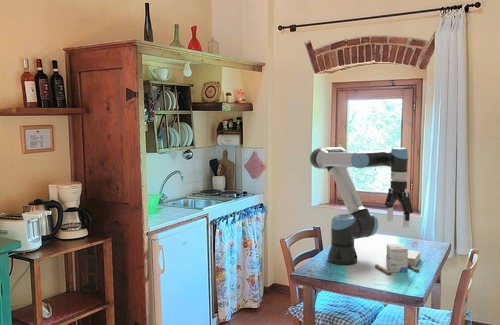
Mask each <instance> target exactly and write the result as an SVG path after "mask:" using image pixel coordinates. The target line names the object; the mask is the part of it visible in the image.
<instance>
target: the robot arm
mask: <svg viewBox="0 0 500 325" xmlns="http://www.w3.org/2000/svg"><path fill="white" fill-rule="evenodd" d="M309 162H310V165H312V166H313V167H314V168H316V169H323V170H325V169H326V170H327V172H328V174H329V175H332V177H333V179H334V182H335V184H336V186H337V189H338V191H339V193H340V196H341V198H342V200H343V203H344V205H345V208H346V210H347V213H344V214H342V213H341V214H336V215H334V217H333V218H331V224H330V230H331V231H330V234H331V235H330V239H331V241H330V243H331V244H330V245H331V246H330V248H329V251H328V254H327V262H329V263H331V264H333V265H339V266H340V265H342V266H350V265H354V264H357V263H358V255H357V251H356V248H355V240H358V239H361V238H369V237H372V236H374V235H375V234H376V233H377V232H378V229H379V221H378V218H377V216H376V215H375V214H374V213H370V211H369V209H368V208H367V207H364V205H363V202H362V200H361V198H360V196H359V193H358V191H357V189H356V187H355V184H354V182H353V180H352V178H351V176H350V174H349V171H348V168H355V169H366V168H370V167H371V168H375V167H387V168H388V167H389V168H390V187H389V188H388V192H387V195H386V198H385V202H384V206H386V208H387V211H386V212H387V214H386V215H387V217H386V219H387V222H393V220H394V205H395V203H396V201H398V202H399V203H400V205H401V207H402V210H403V214H402V228H404V229H405V228H410V215H411V214H413V213H414V212H413V207H412V203H411V199H410V198H411V197H410V192H408V191H407V192H406V189H407V188H408V162H409V151H408V148H406V147H393V148H391V151H389V150H383V149H381V150H379V149H377V150H374V151H347V150H346V149H345V148H344V147H341V146H332V147H320V148H316V149H314V150H313V151H312V152H311V153H310V156H309Z"/></svg>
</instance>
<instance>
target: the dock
mask: <svg viewBox="0 0 500 325" xmlns="http://www.w3.org/2000/svg"><path fill="white" fill-rule="evenodd" d="M385 255H386V256H385V261H386V262H387V254H385ZM420 260H421V251H420V250H419V251H418V250H412V249H411V250H410V249H408V264H410V265H412V266H414V267H416V266H417V264H418V263H419V261H420Z"/></svg>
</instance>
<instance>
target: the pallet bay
mask: <svg viewBox="0 0 500 325" xmlns="http://www.w3.org/2000/svg"><path fill="white" fill-rule="evenodd" d="M374 267H375V268H376V269H377V270H379V271H380V272H382V273H384V274H386V275H387V276H391V275H392V272H390V271H389V270H388V269H386V268H384V267H383V266H381V265H380V264H374ZM408 269H409V270H412V271H413V270H414V272H416V273H420V269H419V268H417V267H416V266H415V267H414V266H412V265H410V264H408Z"/></svg>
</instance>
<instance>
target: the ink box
mask: <svg viewBox="0 0 500 325" xmlns="http://www.w3.org/2000/svg"><path fill="white" fill-rule="evenodd" d="M408 250H409V248H408V247H407V246H406V245H405V244H402V243H399V244H398V243H396V244H395V243H386V255H387V262H386V268H387V270H388V271H390V272H391V273H408V272H409V271H408V269H409V268H408Z"/></svg>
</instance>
